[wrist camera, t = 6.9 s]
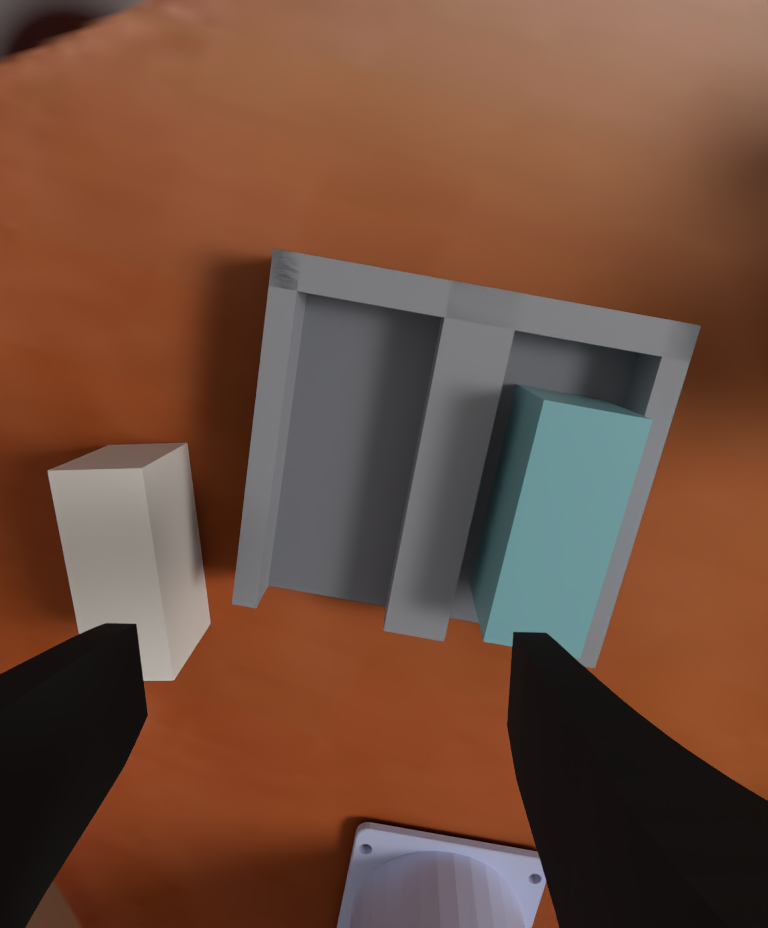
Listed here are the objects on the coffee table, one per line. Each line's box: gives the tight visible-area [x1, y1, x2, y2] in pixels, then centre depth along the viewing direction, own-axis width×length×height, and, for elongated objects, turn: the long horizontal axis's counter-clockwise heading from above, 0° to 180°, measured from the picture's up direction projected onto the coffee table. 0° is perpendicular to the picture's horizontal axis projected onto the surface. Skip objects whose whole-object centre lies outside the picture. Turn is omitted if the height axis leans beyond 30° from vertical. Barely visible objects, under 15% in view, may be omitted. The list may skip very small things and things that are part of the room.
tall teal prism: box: [470, 384, 653, 659], centre depth 17 cm, size 7×3×4 cm, turn 170°
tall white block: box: [48, 443, 211, 681], centre depth 19 cm, size 7×3×4 cm, turn 2°
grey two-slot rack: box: [232, 248, 701, 668], centre depth 18 cm, size 11×12×2 cm
